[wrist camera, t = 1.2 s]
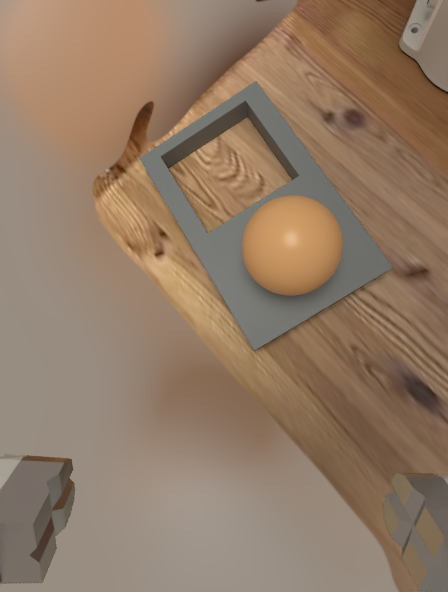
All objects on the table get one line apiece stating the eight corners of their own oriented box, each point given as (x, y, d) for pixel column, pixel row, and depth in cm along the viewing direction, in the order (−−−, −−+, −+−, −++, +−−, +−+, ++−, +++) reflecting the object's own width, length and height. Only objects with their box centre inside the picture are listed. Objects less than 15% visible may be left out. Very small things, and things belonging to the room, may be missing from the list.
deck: (384, 272, 39) (393, 267, 36) (255, 350, 40) (254, 350, 37) (257, 98, 45) (256, 81, 42) (148, 169, 46) (139, 158, 43)
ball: (255, 211, 40) (248, 169, 30) (340, 224, 38) (362, 183, 28) (238, 292, 39) (225, 275, 29) (324, 309, 37) (342, 297, 27)
